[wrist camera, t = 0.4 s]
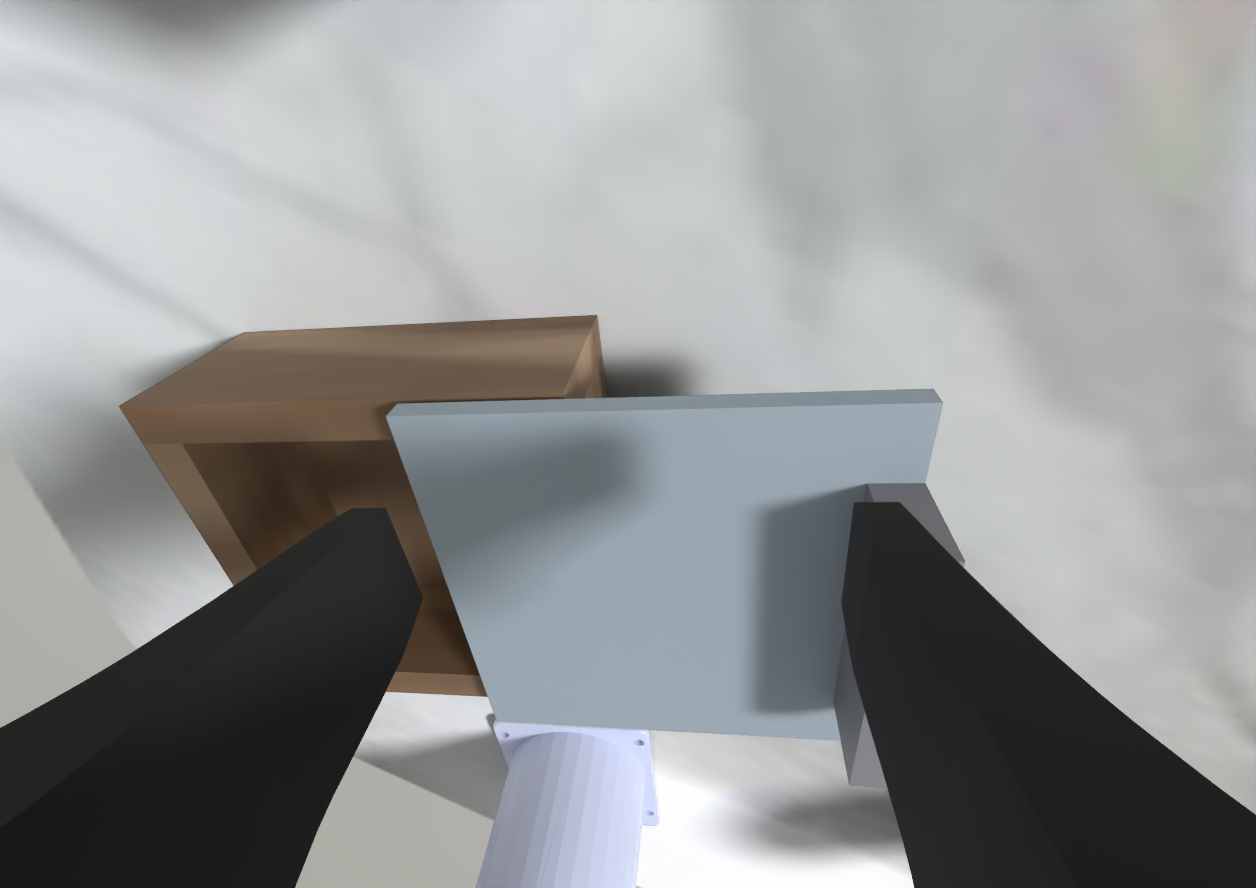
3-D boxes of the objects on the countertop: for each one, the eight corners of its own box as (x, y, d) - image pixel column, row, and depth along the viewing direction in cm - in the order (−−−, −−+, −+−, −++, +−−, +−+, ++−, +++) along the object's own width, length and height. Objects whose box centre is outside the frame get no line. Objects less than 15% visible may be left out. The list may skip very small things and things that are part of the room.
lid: (862, 723, 19) (886, 826, 16) (501, 705, 20) (473, 795, 18) (932, 388, 12) (990, 472, 10) (396, 403, 14) (329, 478, 11)
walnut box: (632, 592, 24) (616, 703, 20) (364, 587, 26) (299, 687, 22) (597, 315, 18) (563, 392, 14) (244, 332, 20) (118, 405, 15)
